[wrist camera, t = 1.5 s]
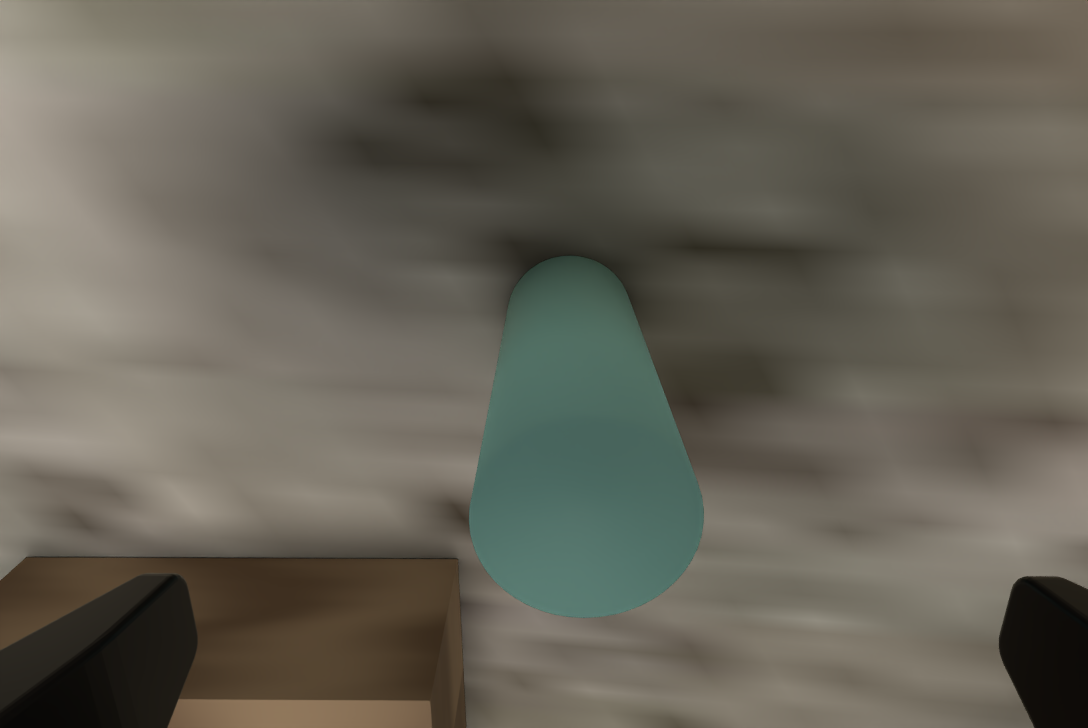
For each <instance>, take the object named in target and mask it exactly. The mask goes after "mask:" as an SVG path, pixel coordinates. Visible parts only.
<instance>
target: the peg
mask: <svg viewBox="0 0 1088 728" xmlns="http://www.w3.org/2000/svg"><path fill="white" fill-rule="evenodd" d="M703 523H704V508H703V501H702V495H701V492H700V489H699V485H698V482H697V480H696V477H695V474H694V472H693V469H692V466H691V464H690V461H689V458H688V456H687V453H686V450H685V447H684V445H683V442H682V439H681V437H680V434H679V431H678V429H677V426H676V423H675V421H674V418H673V415H672V413H671V410H670V407H669V405H668V402H667V399H666V396H665V394H664V391H663V388H662V386H661V383H660V380H659V378H658V375H657V372H656V370H655V367H654V364H653V362H652V359H651V356H650V354H649V351H648V348H647V345H646V343H645V340H644V337H643V335H642V332H641V329H640V327H639V324H638V321H637V319H636V316H635V313H634V311H633V308H632V305H631V303H630V300H629V297H628V294H627V292H626V290H625V288H624V286H623V284H622V283H621V281H620V280H619V279H618V278H617V276H616V275H615V274H614V273H613V272H612V271H611V270H609V269H608V268H607V267H605V266H604V265H602V264H601V263H599V262H597V261H595V260H592V259H589V258H585V257H580V256H559V257H554V258H551V259H548V260H545V261H543V262H541V263H539V264H537V265H536V266H534V267H533V268H531V269H530V270H529V271H528V272H526V273H525V274H524V275H523V277H522V278H521V279H520V280H519V282H518V283H517V284H516V286H515V288H514V290H513V292H512V294H511V297H510V300H509V305H508V310H507V315H506V320H505V326H504V331H503V336H502V341H501V346H500V352H499V357H498V362H497V367H496V373H495V378H494V383H493V388H492V394H491V399H490V404H489V409H488V414H487V420H486V425H485V430H484V435H483V441H482V446H481V451H480V456H479V461H478V467H477V472H476V477H475V482H474V488H473V493H472V498H471V503H470V509H469V526H470V534H471V538H472V542H473V546H474V549H475V551H476V553H477V555H478V558H479V560H480V562H481V563H482V565H483V566H484V568H485V570H486V571H487V572H488V574H489V575H490V576H491V577H492V578H493V580H494V581H495V582H496V583H497V584H498V585H499V586H501V587H502V588H503V589H504V590H505V591H506V592H508V593H509V594H510V595H512V596H513V597H515V598H516V599H518V600H520V601H521V602H523V603H525V604H527V605H529V606H531V607H534V608H536V609H539V610H541V611H544V612H548V613H551V614H555V615H561V616H567V617H579V618H591V617H602V616H609V615H614V614H618V613H622V612H625V611H628V610H631V609H634V608H636V607H639V606H641V605H643V604H645V603H647V602H649V601H650V600H652V599H654V598H655V597H657V596H658V595H660V594H661V593H663V592H664V591H665V590H666V589H668V588H669V587H670V586H671V585H672V584H673V583H674V582H675V581H676V580H677V579H678V578H679V577H680V576H681V575H682V573H683V572H684V571H685V570H686V568H687V567H688V565H689V564H690V562H691V561H692V559H693V556H694V554H695V552H696V550H697V548H698V545H699V542H700V539H701V535H702V529H703Z"/></svg>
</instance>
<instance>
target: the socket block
mask: <svg viewBox="0 0 1088 728" xmlns="http://www.w3.org/2000/svg"><path fill="white" fill-rule="evenodd" d="M144 573H177V574H179V575H181V576H183V577H184V579H185V580H186V582H187V585H188V589H189V594H190V599H191V604H192V608H193V613H194V618H195V623H196V628H197V633H198V645H197V651H196V655H195V658H194V661H193V664H192V666H191V669H190V672H189V674H188V677H187V679H186V682H185V684H184V687H183V690H182V692H181V695H180V697H179V700H178V702H177V705H176V708H175V710H174V713H173V715H172V718H171V720H170V723H169V726H168V728H466V712H465V692H464V672H463V652H462V632H461V612H460V593H459V573H458V559H288V558H38V557H26V558H25V559H24V560H23V561H22V562H21V563H19V564H18V565H17V566H16V567H15V568H14V569H13V570H12V571H11V572H9V573H8V574H7V575H6V576H5V577H4V578H3V579H2V580H1V581H0V650H1V649H3V648H5V647H7V646H9V645H10V644H12V643H14V642H16V641H18V640H20V639H22V638H23V637H25V636H27V635H29V634H31V633H33V632H35V631H36V630H38V629H40V628H42V627H44V626H46V625H47V624H49V623H51V622H53V621H55V620H57V619H59V618H60V617H62V616H64V615H66V614H68V613H70V612H71V611H73V610H75V609H77V608H79V607H81V606H83V605H84V604H86V603H88V602H90V601H92V600H94V599H96V598H97V597H99V596H101V595H103V594H105V593H107V592H108V591H110V590H112V589H114V588H116V587H118V586H120V585H121V584H123V583H125V582H127V581H129V580H131V579H132V578H134V577H136V576H138V575H140V574H144Z"/></svg>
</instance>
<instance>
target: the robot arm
mask: <svg viewBox="0 0 1088 728" xmlns="http://www.w3.org/2000/svg"><path fill="white" fill-rule="evenodd" d="M197 645H198V633H197V628H196V623H195V618H194V613H193V608H192V604H191V599H190V594H189V589H188V585H187V582H186V580H185V579H184V577H183V576H181V575H179V574H177V573H144V574H140V575H138V576H136V577H134V578H132V579H131V580H129V581H127V582H125V583H123V584H121V585H120V586H118V587H116V588H114V589H112V590H110V591H108V592H107V593H105V594H103V595H101V596H99V597H97V598H96V599H94V600H92V601H90V602H88V603H86V604H84V605H83V606H81V607H79V608H77V609H75V610H73V611H71V612H70V613H68V614H66V615H64V616H62V617H60V618H59V619H57V620H55V621H53V622H51V623H49V624H47V625H46V626H44V627H42V628H40V629H38V630H36V631H35V632H33V633H31V634H29V635H27V636H25V637H23V638H22V639H20V640H18V641H16V642H14V643H12V644H10V645H9V646H7V647H5V648H3V649H1V650H0V728H168V726H169V723H170V720H171V718H172V715H173V713H174V710H175V708H176V705H177V702H178V700H179V697H180V695H181V692H182V690H183V687H184V684H185V682H186V679H187V677H188V674H189V672H190V669H191V666H192V664H193V661H194V658H195V655H196V651H197ZM999 650H1000V655H1001V658H1002V661H1003V664H1004V666H1005V668H1006V670H1007V672H1008V674H1009V676H1010V678H1011V680H1012V682H1013V684H1014V686H1015V688H1016V691H1017V693H1018V695H1019V697H1020V699H1021V701H1022V703H1023V705H1024V707H1025V709H1026V711H1027V713H1028V715H1029V717H1030V719H1031V721H1032V723H1033V725H1034V728H1088V589H1086V588H1084V587H1082V586H1080V585H1077V584H1075V583H1073V582H1071V581H1069V580H1067V579H1064V578H1061V577H1053V576H1026V577H1022V578H1020V579H1018V580H1017V581H1016V582H1015V584H1014V585H1013V587H1012V590H1011V594H1010V598H1009V601H1008V605H1007V609H1006V613H1005V616H1004V620H1003V624H1002V628H1001V631H1000V635H999Z"/></svg>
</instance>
